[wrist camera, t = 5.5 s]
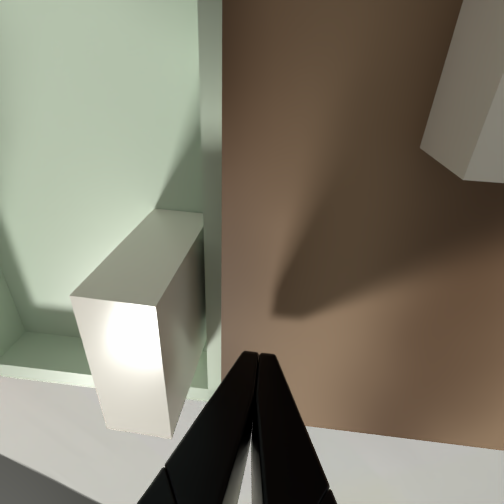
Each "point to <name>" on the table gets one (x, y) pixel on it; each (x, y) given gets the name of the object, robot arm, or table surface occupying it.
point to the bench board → (357, 222)
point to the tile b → (471, 97)
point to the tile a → (146, 322)
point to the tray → (101, 161)
